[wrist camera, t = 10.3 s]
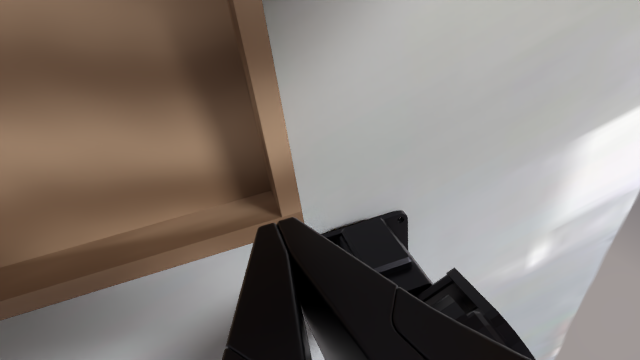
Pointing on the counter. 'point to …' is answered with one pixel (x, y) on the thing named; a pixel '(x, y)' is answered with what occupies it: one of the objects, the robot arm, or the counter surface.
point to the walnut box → (133, 141)
